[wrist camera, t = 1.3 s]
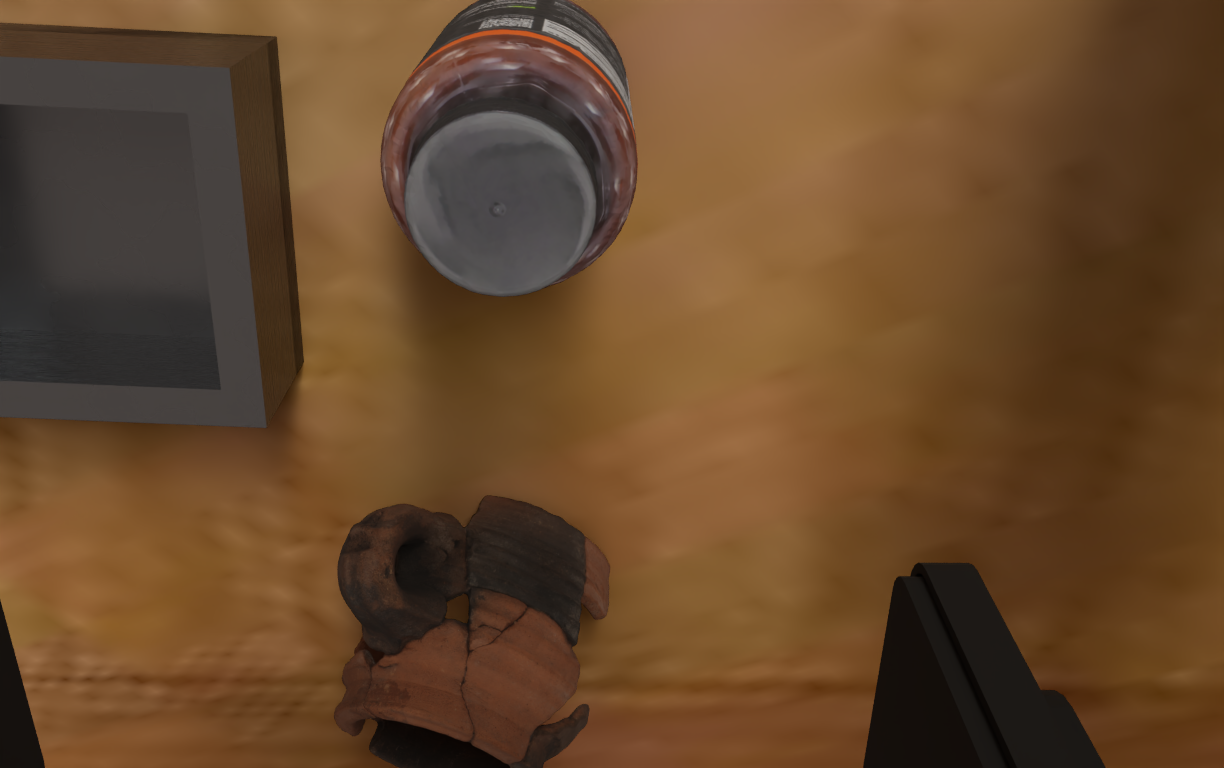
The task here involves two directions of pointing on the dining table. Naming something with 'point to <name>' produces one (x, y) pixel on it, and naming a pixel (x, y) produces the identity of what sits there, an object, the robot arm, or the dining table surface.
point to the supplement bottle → (513, 147)
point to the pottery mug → (467, 633)
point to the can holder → (144, 227)
